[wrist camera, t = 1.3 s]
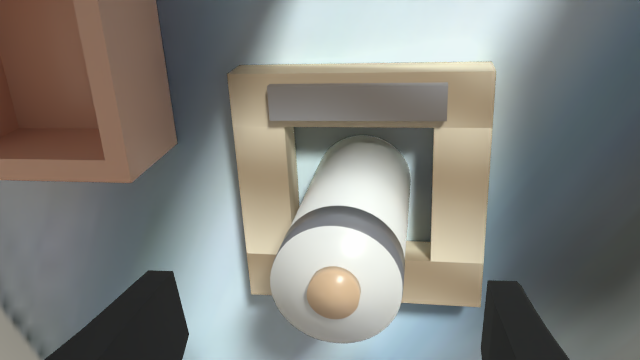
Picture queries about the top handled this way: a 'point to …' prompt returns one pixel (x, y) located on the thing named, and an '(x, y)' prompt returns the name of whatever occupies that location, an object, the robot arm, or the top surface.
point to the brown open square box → (82, 90)
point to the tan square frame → (371, 111)
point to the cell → (347, 244)
